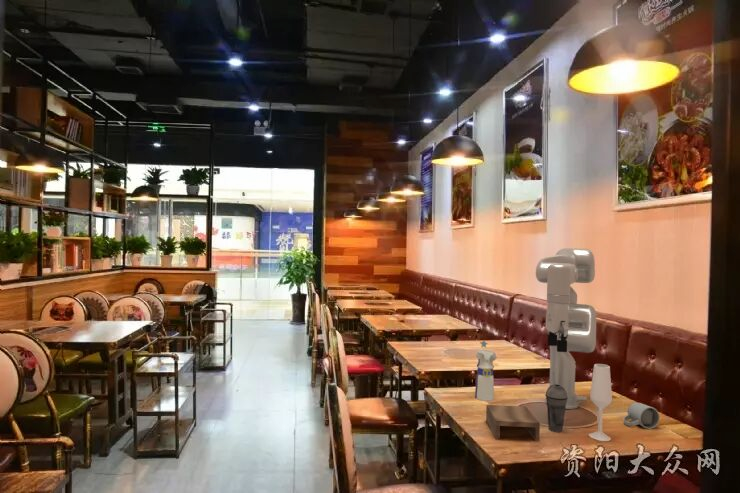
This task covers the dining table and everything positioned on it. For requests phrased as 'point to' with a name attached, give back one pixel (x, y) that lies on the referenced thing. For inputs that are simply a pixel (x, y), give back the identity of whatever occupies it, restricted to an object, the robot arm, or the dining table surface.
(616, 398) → the dining table surface
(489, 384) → the water bottle
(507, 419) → the walnut shelf
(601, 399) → the champagne flute
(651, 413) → the ceramic mug
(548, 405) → the beverage cup
